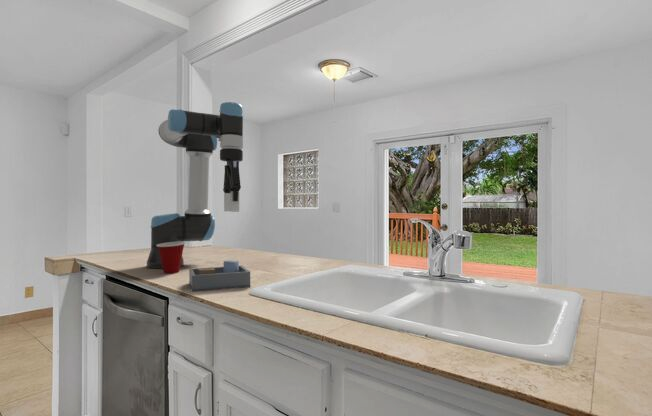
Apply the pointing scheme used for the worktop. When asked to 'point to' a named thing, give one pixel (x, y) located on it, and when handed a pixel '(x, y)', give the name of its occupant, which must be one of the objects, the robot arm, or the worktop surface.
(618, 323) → the worktop surface
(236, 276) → the tote
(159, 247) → the plastic cup
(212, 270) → the walnut cube
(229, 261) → the slate cylinder
